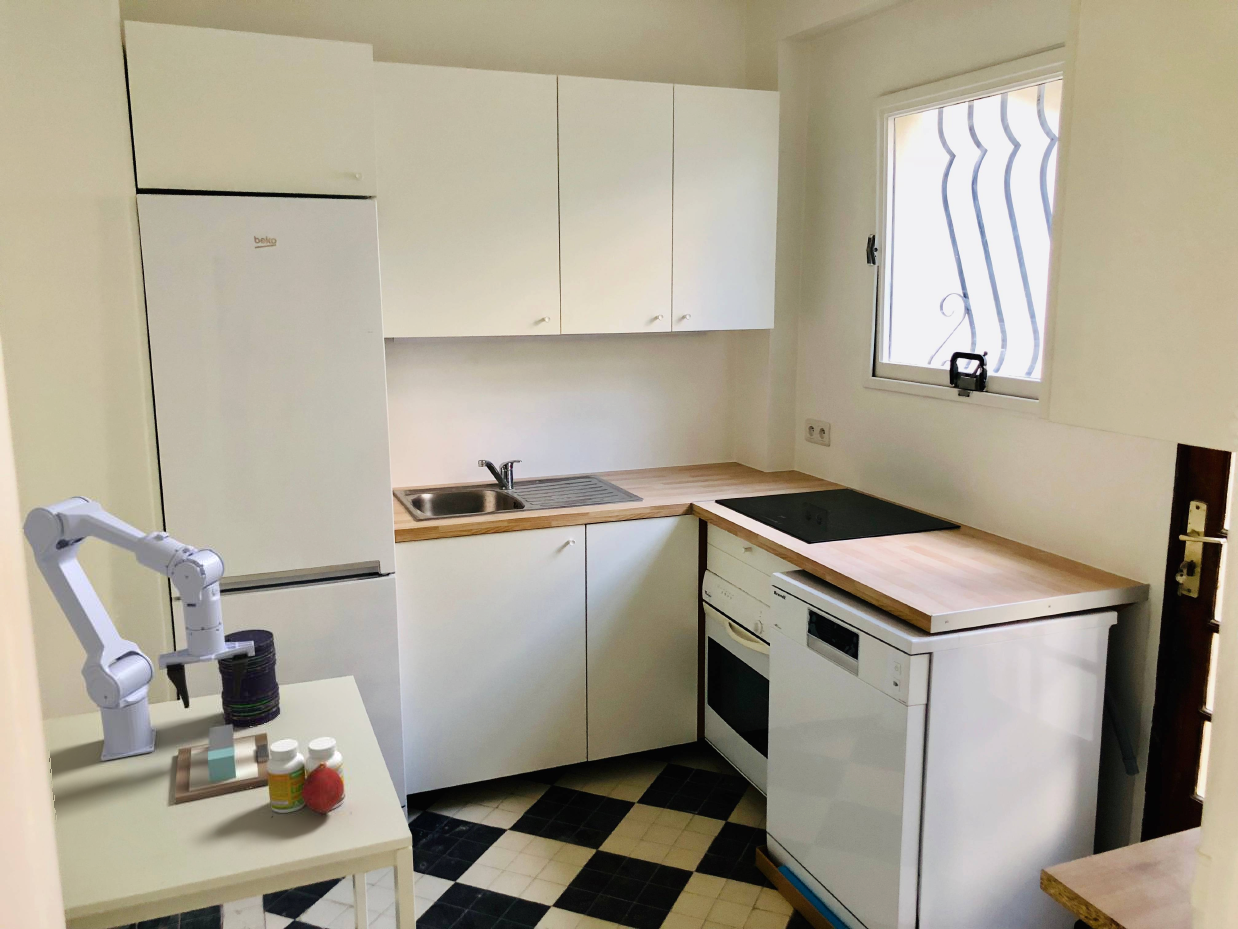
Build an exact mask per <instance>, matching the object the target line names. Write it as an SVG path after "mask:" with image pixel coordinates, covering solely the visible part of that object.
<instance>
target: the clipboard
mask: <svg viewBox="0 0 1238 929" xmlns="http://www.w3.org/2000/svg"><path fill="white" fill-rule="evenodd" d="M234 746H235V764H236V778H231V779H226V780H221V781H216V782H211V783H210V776H209V767H208V752H209V742H208V743H203V744H199V745H198V744H197V745H193V746H187V747H181V748H178V751H177V752H178V753H177V754H178V755H177V763H176V778H175V788H174V789H175V790H174V791H175V792H174V802H175V804H181V803H186V802H191V801H195V800H200V799H205V798H209V797H215V796H218V795H219V796H220V795H224V794H230V793H233V792H232V791H235V792H239V791H238V790H240V791H243V790H242V789H245V790H248V789H247V788H250V787H254V788H258V787H257V786H259V787H263V785H264V786H268V776H267V763H268V761H269V760H270V759H271V756H270V747H269V741H268V733H267V732H262V733H258V734H253V735H252V734H251V735H248V736H247V735H245V736H240V737H234ZM250 789H251V788H250ZM229 792H230V793H229Z"/></svg>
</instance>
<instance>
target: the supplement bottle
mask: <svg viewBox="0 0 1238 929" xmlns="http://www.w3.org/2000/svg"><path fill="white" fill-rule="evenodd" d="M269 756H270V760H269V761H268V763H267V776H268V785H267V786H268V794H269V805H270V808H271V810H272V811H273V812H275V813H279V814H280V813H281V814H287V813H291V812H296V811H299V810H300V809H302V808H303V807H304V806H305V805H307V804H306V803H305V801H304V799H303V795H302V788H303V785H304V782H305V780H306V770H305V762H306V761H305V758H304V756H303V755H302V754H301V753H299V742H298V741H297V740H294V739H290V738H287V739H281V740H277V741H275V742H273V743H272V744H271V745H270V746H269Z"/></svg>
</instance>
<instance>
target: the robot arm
mask: <svg viewBox="0 0 1238 929" xmlns="http://www.w3.org/2000/svg"><path fill="white" fill-rule="evenodd" d="M22 529H24V533H23V534H24V535H23V536H25V539H26V540H27V542H28V543H29V545H30V547H31V549H32V552H33V557H34V561H35V563H36V566H37V568H38V569H39V571H40V574H41V575H42V577H43V578H44V580H45V583H46V584H47V585H48V587H49V589H50V591H51V592H52V594H53V596H54V598H55V599H56V601H57V603H58V605H59V607H60V609H61V611H62V612H63V614H64V616H65V617H66V619H67V622H68V623H69V624H70V626H71V628H72V630H73V631H74V633H75V636H76V637H77V639H78V641H79V642H80V644H81V646H82V647H83V649H84V651H85V653H86V655H87V657H86V658H85V661H84V663H83V666H82V667H81V668H82V669H81V670H80V672H81V674H82V677H83V678H84V681H85V688H86V692H87V694H88V695H87V696H88V697H89V698H90V700H91V701H92V702H93V703H94V704H95V705H96V707H97V708H99V710H100V717H101V725H102V732H103V741H104V744H103V747H102V752H101V756H100V761H102V762H103V761H104V762H105V761H108V760H115V759H119V758H120V759H121V758H125V757H131V756H137V755H141V754H142V755H143V754H148V753H152V752H154V750H155V745H156V736H157V726H151V718H150V717H151V716H150V710H149V701H148V691H149V690H150V689H149V684H150V683H151V682H152V681H153V679H154V678H155V666H154V664H153V662H152V660H151V659H150V657H148V656H147V655H146V654H145V653H144V652H142V651H141V649H140V648H139V646H138V644H137V643H136V642H134V641H130V640H127V639H124V638H121V636H120V635H119V632H118V630H117V629H116V627H115V625H114V624H113V621H112V620H111V617H110V616H109V614H108V613H107V611H106V609H105V607H104V605H103V604H102V602H101V600H100V598H99V597H98V595H97V593H96V591H95V589H94V588H93V586H92V584H91V582H90V580H89V578H88V577H87V575H86V574H85V571H84V570H83V568H82V566H81V565H80V563H79V561H78V559H77V556H78V552H79V551H80V548H81V546H82V544H83V543H84V542H85V540H86V539H87V538H88V537H93V538H96V539H99V540H101V541H104V542H106V543H109V544H111V545H114V546H116V547H119V548H121V549H124V550H126V551H129V552H131V553H133V554H134V556H135V558H136V561H137V563H138V564H140V565H141V566H144V567H147V568H148V569H150V570H152V571H155V572H157V573H159V574H161V575H163V576H164V577H167V578H169V579H171V583H172V584H173V586H174V587H175V588H176V589H177V591H178V594H179V600H181V602H182V611H183V618H184V629H185V631H184V632H185V637H186V638H185V640H186V648H183V649H179V650H176V651H175V650H174V651H172V652H167V653H163V654H161V653H160V654H158V656H157V657H158V658H157V662H158V670H159V671H160V670H166V676H167V677H168V679H169V680H170V682H171V683H172V684H173V686H174V687H175V688H176V690H177V692H178V694H179V697H180V698H181V701H182V703H183V704H182V705H183V707H184V709H190V696H189V691H188V685H187V678H186V667H185V665H191V664H197V663H207V662H212V661H218V659H225V658H231V657H232V666H233V675H234V698H235V700H238V699H239V691H240V685H241V681H242V677H243V674H244V672H245V669H246V667H247V664H248V656H253V655H255V653H254V643H253V641H248V642H226V643H225V639H224V636H225V632H224V622H223V612H222V610H223V609H222V601H221V590H220V581H219V580H221V579H222V577H223V576H224V574H225V570H226V567H225V562H224V560H223V558H222V557H221V555H220V554H218V552H216V551H214V549H212V548H209V547H207V548H206V547H204V548H201V549H197V548H195V547H194V546H193V545H190V544H188V545H186V544H184V543H182V542H180V541H178V540H176V539H174V538H171V537H170V534H169V532H166V531H161V532H158V531H154V532H151V533H148V534H146V533H145V532H143V531H141V530H139V529H138V528H135V527H134V526H133V525H130V524H128V523H127V522H125V521H123V520H121V519H119V518H118V517H116V516H114V515H112V514H111V513H109V512H107V511H105V510H104V509H103V508H102V506H101V503H99V502H97V501H94V500H91V499H90V498H88V497H87V496H84V495H83V496H82V495H75V496H72V497H70V498H69V499H68V498H66V499H64V500H61V501H57V502H55V503H50V504H47V505H44V506H38V507H35V508H33V509H31V510H30V511H29V512H28V514H27V516H26V518H25V521H24V524H23V527H22ZM113 661H114V662H113ZM112 662H113V663H112Z"/></svg>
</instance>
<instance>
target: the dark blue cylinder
mask: <svg viewBox="0 0 1238 929" xmlns="http://www.w3.org/2000/svg"><path fill="white" fill-rule="evenodd" d="M224 639H225V643H226V642H248V641H253V643H254V653H255V655H253V656H248V664H247V667H246V669H245V672H244V674H243V677H242V681H241V685H240V691H239V699H238V700H235V698H234V675H233V666H232V657H231V658H225V659H218V660H217V664H218V668H217V669H218V672H219V674H220V676H221V685H222V688H221V689H222V691H221V694H220V696H221V700H222V701H221V705H222V711H223V714H224V717H223V718H224V723H225V725H231V724H232V725H233V728H235V727H237V728H238V729H246V728H245V727H249V728H251V727H250V726H255V727H258V726H257V725H260V726H262V724H263V725H265V724H264V723H266V724H268V723H270V722H269V721H271V720H272V721H274V720H276V719H277V718H278V717H279V716H280V714H281V707H280V704H281V703H280V696H281V695H280V687H279V683H278V681H277V677H276V676H277V675H276V665H277V658H276V656H277V655H276V654H277V652H276V647H275V638H274V633H273V632H272V631H270V630H266V629H259V628H257V629H246V630H244V629H243V630H239V631H236V632H235V631H234V632H232V633H228V634H226V635H225V634H224ZM278 715H279V716H278ZM277 716H278V717H277ZM276 717H277V718H276ZM275 718H276V719H275ZM273 719H274V720H273ZM272 721H271V722H272ZM267 722H268V723H267ZM239 727H241V728H239ZM243 727H244V728H243Z"/></svg>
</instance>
